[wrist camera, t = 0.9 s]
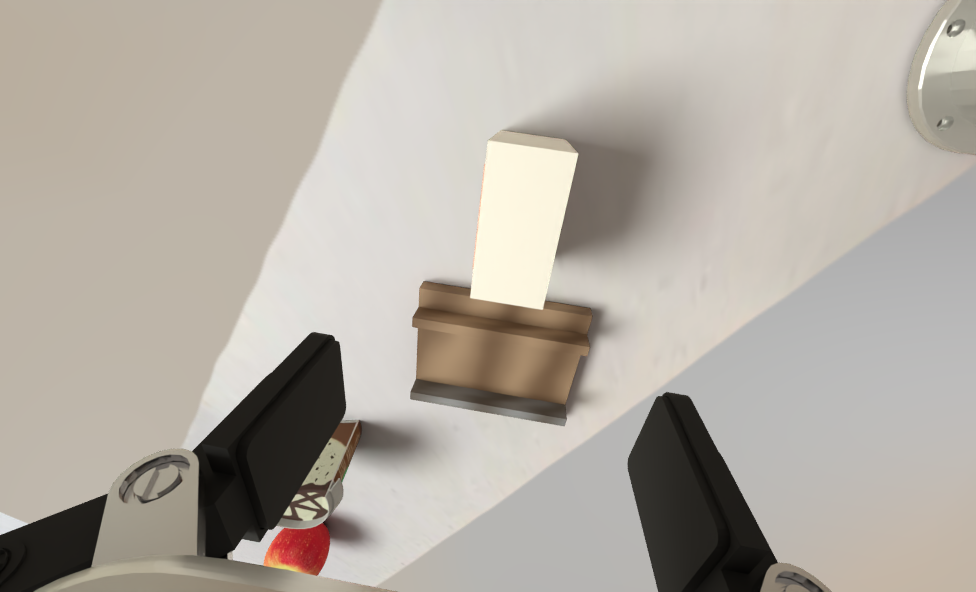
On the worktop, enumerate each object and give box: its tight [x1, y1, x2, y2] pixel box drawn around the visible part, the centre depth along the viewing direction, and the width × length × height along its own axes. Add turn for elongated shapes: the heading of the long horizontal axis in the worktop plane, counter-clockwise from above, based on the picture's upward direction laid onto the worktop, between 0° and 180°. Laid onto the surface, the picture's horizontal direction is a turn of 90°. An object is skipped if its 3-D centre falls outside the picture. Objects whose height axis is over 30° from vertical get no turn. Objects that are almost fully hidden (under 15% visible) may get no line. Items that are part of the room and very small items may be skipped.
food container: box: [277, 420, 362, 529], centre depth 43 cm, size 12×6×10 cm, turn 99°
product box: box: [470, 130, 578, 310], centre depth 26 cm, size 5×10×9 cm, turn 173°
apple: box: [264, 523, 330, 576], centre depth 53 cm, size 8×8×10 cm
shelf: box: [410, 281, 593, 426], centre depth 36 cm, size 16×14×4 cm
